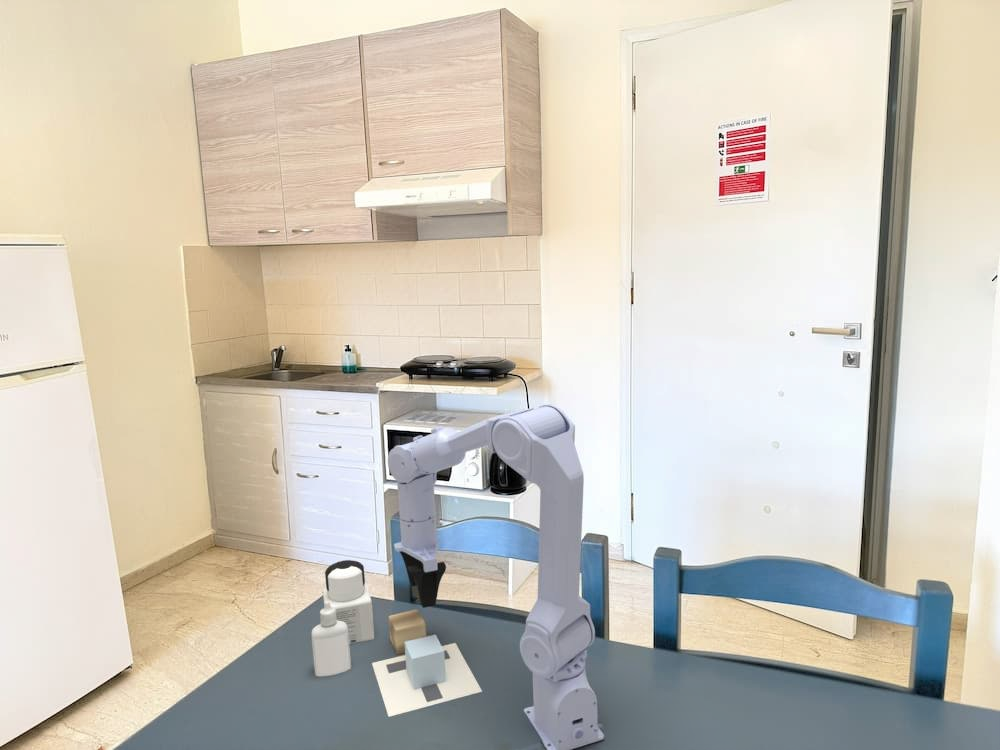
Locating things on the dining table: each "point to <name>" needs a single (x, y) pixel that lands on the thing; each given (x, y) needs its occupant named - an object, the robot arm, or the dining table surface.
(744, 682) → the dining table surface
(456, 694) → the letter card
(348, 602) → the container
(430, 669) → the pale blue cube
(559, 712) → the robot arm
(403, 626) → the oak block
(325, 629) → the eye dropper bottle
